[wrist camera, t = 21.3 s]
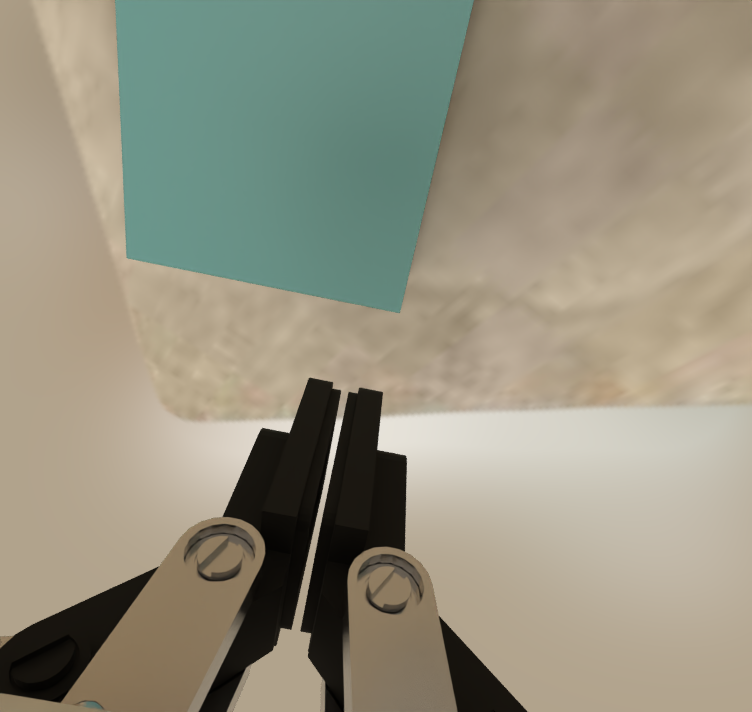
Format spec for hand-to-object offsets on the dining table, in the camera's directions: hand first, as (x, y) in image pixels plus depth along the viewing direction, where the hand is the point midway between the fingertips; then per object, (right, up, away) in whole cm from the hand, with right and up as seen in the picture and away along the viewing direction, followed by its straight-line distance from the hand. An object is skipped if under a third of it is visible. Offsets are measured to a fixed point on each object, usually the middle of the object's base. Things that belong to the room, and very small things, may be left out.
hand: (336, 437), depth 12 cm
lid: (-4, +14, +15) cm, 21 cm away
